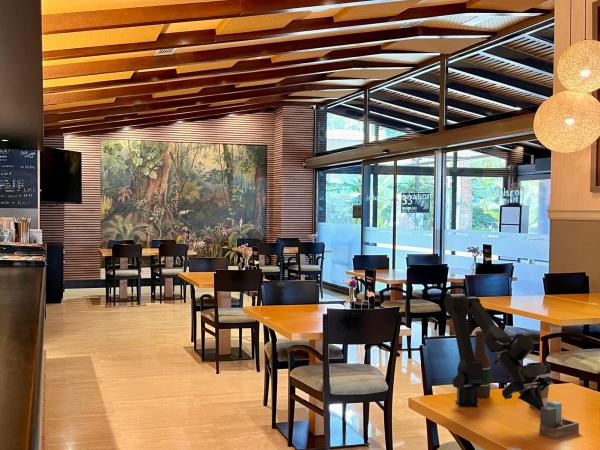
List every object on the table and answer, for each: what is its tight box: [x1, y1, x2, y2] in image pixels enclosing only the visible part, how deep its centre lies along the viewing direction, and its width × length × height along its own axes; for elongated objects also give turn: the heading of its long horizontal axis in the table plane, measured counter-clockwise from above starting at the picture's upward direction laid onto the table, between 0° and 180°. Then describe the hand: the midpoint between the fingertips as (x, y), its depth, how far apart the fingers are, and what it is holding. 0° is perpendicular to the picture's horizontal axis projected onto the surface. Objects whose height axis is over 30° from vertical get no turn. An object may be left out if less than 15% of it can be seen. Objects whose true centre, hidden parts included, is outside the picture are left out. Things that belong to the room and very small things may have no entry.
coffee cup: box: [526, 362, 552, 409], centre depth 235 cm, size 8×8×15 cm
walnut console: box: [539, 418, 580, 440], centre depth 205 cm, size 6×12×3 cm, turn 124°
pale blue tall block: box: [546, 400, 563, 424], centre depth 210 cm, size 3×4×8 cm
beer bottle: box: [473, 330, 492, 399], centre depth 247 cm, size 8×8×24 cm
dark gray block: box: [539, 406, 556, 428], centre depth 204 cm, size 3×4×8 cm
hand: (543, 410), depth 206 cm, fingers closed, pressing on dark gray block
